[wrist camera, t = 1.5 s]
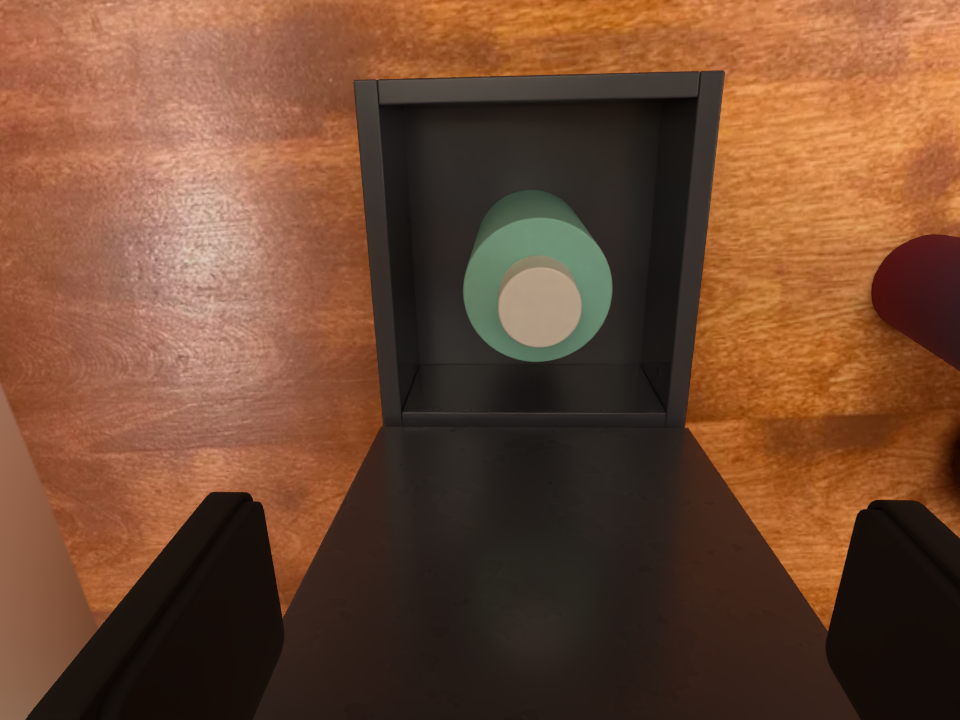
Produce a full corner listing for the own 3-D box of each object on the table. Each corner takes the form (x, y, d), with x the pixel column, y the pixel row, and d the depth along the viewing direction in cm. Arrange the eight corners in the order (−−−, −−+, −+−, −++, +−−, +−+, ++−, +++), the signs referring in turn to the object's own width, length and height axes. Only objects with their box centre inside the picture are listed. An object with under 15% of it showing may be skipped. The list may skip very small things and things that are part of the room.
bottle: (464, 278, 32) (439, 357, 21) (495, 175, 30) (485, 204, 19) (562, 309, 32) (588, 402, 21) (599, 208, 30) (647, 255, 19)
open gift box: (387, 89, 29) (353, 79, 23) (678, 82, 29) (726, 70, 22) (407, 373, 35) (383, 429, 28) (652, 372, 34) (685, 430, 28)
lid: (229, 719, 13) (261, 896, 15) (904, 740, 12) (858, 924, 14) (380, 426, 28) (388, 529, 29) (688, 427, 27) (678, 533, 29)
